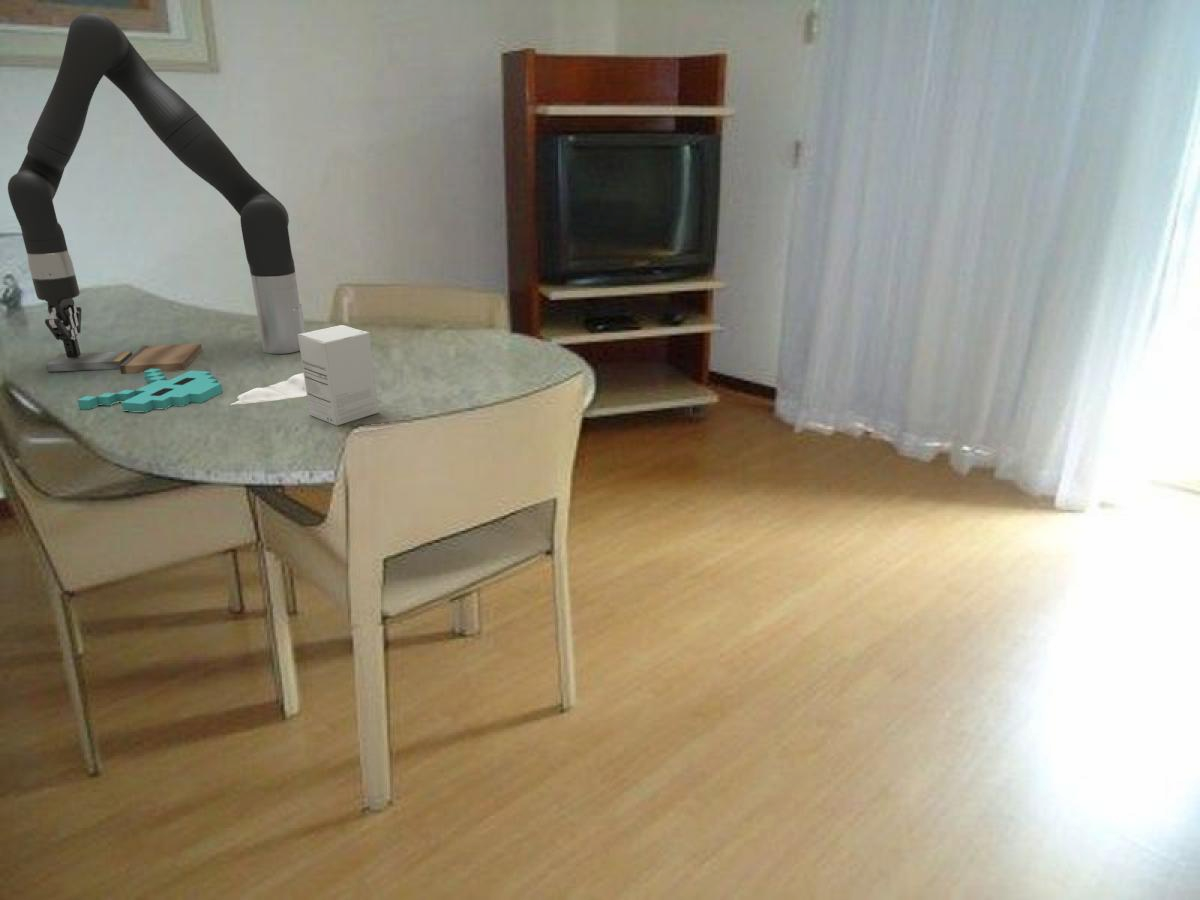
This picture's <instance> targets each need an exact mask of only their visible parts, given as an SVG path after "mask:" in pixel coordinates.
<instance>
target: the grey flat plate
mask: <svg viewBox="0 0 1200 900" xmlns="http://www.w3.org/2000/svg"><path fill="white" fill-rule="evenodd" d="M80 353H81V355H80V356H78V357H77V358H68V357H67V355H66V353H61V354H58V356H56V357H55V358H53V359H52V360H50V361H49V362H47V363H46V364H45V366H46V370H47V372H48V373H50V372H51V373H52V372H72V371H73V372H74V371H97V370H99V371H100V370H118V369H119V370H120V365H121V364H122V363H123V362H125V361H126V360H127V359H128V358H129V357H131V356H132V355H133V354H134V353H133V351H132V350H129V351H128V350H126V351H105V352H80Z"/></svg>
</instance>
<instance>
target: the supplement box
mask: <svg viewBox="0 0 1200 900" xmlns="http://www.w3.org/2000/svg"><path fill="white" fill-rule="evenodd" d="M305 332H306V333H301V334H298V340H299V346H300V351H299V352H300V359H301V366H302V371H303V372H302V373H304V379H305V386H306V393H307V396H306V398H307V406H308V411H309V412H308V413H309V415H310V416H311V417H315V418H317V419H319V420H321V421H325V422H327V423H329V424H331V425H334V426H335V427H336V426H341V425H345V424H346V423H350V422H353V421H356V420H360V419H363V418H365V417H366V418H367V417H369V416H372V415H375V414H379V413H380V410H379V401H378V400H379V399H378V393H377V384H376V383H377V382H376V376H375V370H374V369H375V368H374V362H373V354H372V343H371V335H370V332H369V331H365V330H361V329H357V328H354V327H350V326H348V325H346V324H345V325H344V324H340V325H335V326H331V327H326V328H321V329H316V330H311V331H308V332H307V331H305Z"/></svg>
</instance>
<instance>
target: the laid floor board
mask: <svg viewBox="0 0 1200 900" xmlns="http://www.w3.org/2000/svg"><path fill="white" fill-rule="evenodd" d="M202 352H203V347H202V343H181V344H163V345H142V346H141V347H140V348H139V349H138V350H136V351H135V352H134V353H132V354H133V355H132V356H131V357H129V358H128V359H127V360H126V361H125V362H123V363H122V364H121V365H120V369H119V370H120V374H122V375H124V374H125V375H129V374H128V373H131V374H140V373H139V372H144V371H146V370H148V369H161V371H167V372H177V371H176V370H184V369H185V368H186V367H187V366H188V365H189V366H190V364H192V362H193V361H194V360H195V359H196V358H197V357H198V356H199V355H200V354H201V353H202ZM199 353H200V354H199ZM198 354H199V355H198ZM197 355H198V356H197ZM196 356H197V357H196ZM195 357H196V358H195ZM194 358H195V359H194ZM189 366H188V367H189ZM188 367H187V368H188ZM187 368H186V369H187ZM186 369H185V370H186ZM185 370H184V371H185Z"/></svg>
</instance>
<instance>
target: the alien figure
mask: <svg viewBox="0 0 1200 900" xmlns="http://www.w3.org/2000/svg"><path fill="white" fill-rule="evenodd" d="M211 373H212V372H211V371H206V370H205V371H202V370H201V371H200V370H189V371H187V372H184V373H181V374H180V375H178V376H176V377H174V378H171V379H169V380H167V376H166V375H165V376H164V372H161V369H148V370H146V371H144V372H143V373H142V374H143V376H144V379H145V378H146V379H145V380H146V383H147V382H149V383H148V384H146V385H144V386H142V387H140V388H137V389H136V390H135V389H134V390H132V389H123V390H121V391H119V392H116V393H115V392H114V393H113V392H104V393H103V394H100V395H98V396H94V395H93V396H91V395H85V396H83V397H80V398H79V399H77V403H78V407H79V408H80V409H79V408H78V409H79V410H87V409H91V408H93V407H95V406H97V405H99V404H102V405H110V404H112V403H114V402H117V401H123V402H121V403H120V404H121V407H122V411H123V410H128V411H143V412H146V411H148V410H150V409H152V408H163V409H165V408H167V407H168V406H170V405H182V406H181V407H184V406H183V405H185V404H187V403H189V402H199V403H198V404H203V403H205V402H206V400H207V401H208V399H209V400H210V398H211V399H213V398H214V397H216V396H219V395H220V394H221V393H223V385H222V383H221V382H220V383H219V379H215V375H214V374H213V375H212V374H211ZM212 397H213V398H212ZM204 401H205V402H204ZM202 402H203V403H202ZM189 404H190V403H189ZM187 405H188V404H187ZM185 406H186V405H185ZM83 408H84V409H83ZM95 408H96V407H95ZM93 409H94V408H93ZM167 409H168V408H167ZM91 410H92V409H91ZM165 410H166V409H165Z"/></svg>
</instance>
